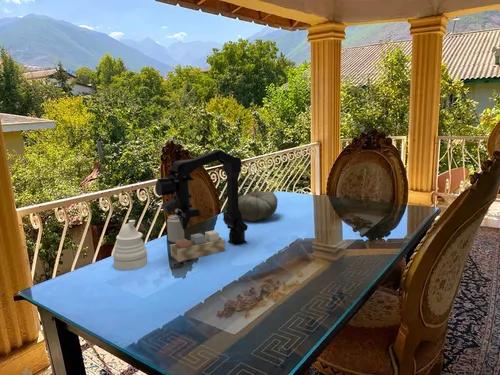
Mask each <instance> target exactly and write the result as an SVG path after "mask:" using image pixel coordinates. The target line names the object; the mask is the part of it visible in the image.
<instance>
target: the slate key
mask: <svg viewBox="0 0 500 375" xmlns="http://www.w3.org/2000/svg"><path fill="white" fill-rule="evenodd" d="M190 240H191V243H192V244H194V245H199V244H203V243H205V234H202V232H198V233H195V234H190Z"/></svg>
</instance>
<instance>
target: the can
mask: <svg viewBox="0 0 500 375" xmlns="http://www.w3.org/2000/svg"><path fill="white" fill-rule="evenodd" d="M167 218H168V219H166V225H167V240H168V241H169V242H170V243H172V244H176V241H177V240H182V239H185V230H183V229H182V226H181V223H180V220H179V218H178V216H177V215H175V214H172V215H169V216H167Z"/></svg>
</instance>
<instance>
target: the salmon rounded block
mask: <svg viewBox="0 0 500 375" xmlns="http://www.w3.org/2000/svg"><path fill="white" fill-rule="evenodd" d="M175 244H176V247H178V248H179V249H181V248H185V247H190V240H188V239H187V238H184V239H182V240H177V241H176V243H175Z"/></svg>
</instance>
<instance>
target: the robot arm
mask: <svg viewBox="0 0 500 375" xmlns="http://www.w3.org/2000/svg"><path fill="white" fill-rule="evenodd" d="M215 162H219V163H220V164H222V166H223V167H222V168H223V172H224V173H225V176H226V188H227V191H226V192H227V194H226V196H227V208H226V211H223V213H222V215H223V219H222V221H224V224H225V225H226V227H227V228H228V229H229V232H228V240H227V242H228V243H230V244H232V245H234V246H239V245H242V244H246V243H248V242H247V240H246V236H245V235H246V234H245V233H246V232H245V231H247V230H248V225H247V224H246V223H245V222H244V219H242V214H241V212H240V210H239V204H238V197H239V175H240V173H241V172H242V164H243V163H242V162H243V161H242V159H240V157H238V156H236V157H235V156H234V155H231V154H230V153H227V152H226V151H223V149H217V148H216V149H213V150H212V151H208V152H205V153H203V154H202V155H199V156H196V157H193V158H190V159H189V158H188V159H181V160H175V161H174V162H173V163H172V165H171V169H170V170H169V172H168V173H167V176H166V177H159V178H157V181H156V183H155V186H154V188H155V193H156V195H157V196H158V197H162V196H168V195H172V199H170V200H167V201H165V202H163V203H162V204H161V205H160V206H161V208H162V210H163V212H164V213H166V214H167V215H169V214H171V213H172V212H173V215H177V216H178V218H179V220H180V223H181V226H182V229H183V230H184V231H185V230H186V229H187V228H188V225H189V222H190V221H191V219H192V218H196V217H200V216H201V215H200V214H201V212H200V209H198V208H195V207H193V205H192V204H191V201H190V200H191V199H190V198H192V194H190V182H191V181H194V180H195V179H194V178H193V177H192V176H191V174H193V173H194V171H196V169H199V168H201V167H204V166H206V165H209V164H211V163H215Z"/></svg>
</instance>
